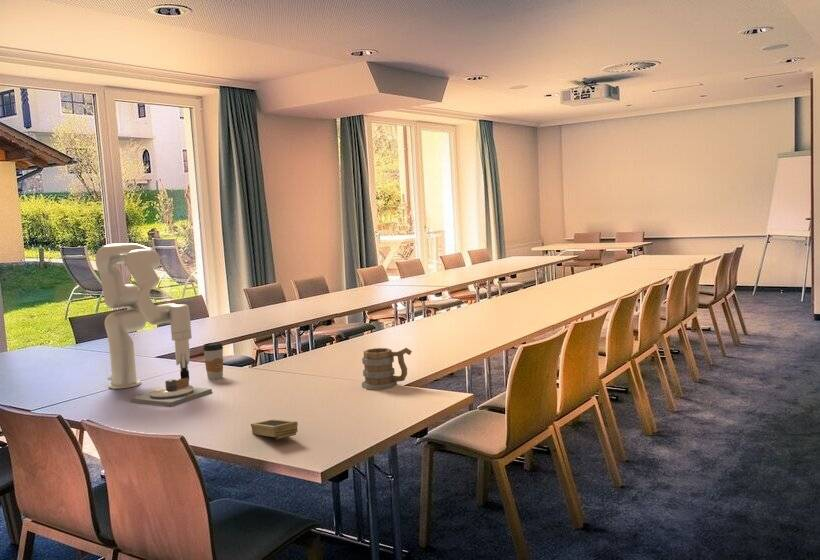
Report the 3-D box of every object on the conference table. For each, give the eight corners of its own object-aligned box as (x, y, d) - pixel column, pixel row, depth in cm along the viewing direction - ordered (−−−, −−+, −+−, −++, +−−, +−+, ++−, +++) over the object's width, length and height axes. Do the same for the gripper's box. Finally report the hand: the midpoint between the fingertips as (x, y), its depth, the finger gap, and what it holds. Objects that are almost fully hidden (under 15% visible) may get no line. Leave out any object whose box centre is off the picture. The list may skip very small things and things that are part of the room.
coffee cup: (210, 381, 292) (207, 346, 291) (202, 378, 299) (199, 344, 297) (228, 377, 298) (226, 343, 296) (220, 375, 304) (217, 341, 303)
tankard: (358, 389, 265) (355, 350, 263) (370, 381, 277) (368, 344, 275) (407, 391, 258) (405, 351, 257) (417, 383, 270) (416, 345, 269)
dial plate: (131, 402, 263) (130, 397, 263) (173, 389, 282) (172, 384, 282) (171, 406, 253) (170, 401, 253) (211, 392, 272) (211, 388, 272)
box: (275, 444, 199) (273, 426, 199) (246, 439, 217) (244, 423, 217) (301, 438, 203) (299, 421, 204) (271, 434, 222) (269, 418, 222)
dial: (170, 399, 257) (169, 387, 256) (140, 396, 264) (139, 384, 264) (203, 388, 271) (202, 377, 271) (173, 386, 279) (172, 374, 278)
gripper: (172, 333, 281) (175, 378, 283) (171, 339, 267) (175, 385, 269) (191, 332, 283) (194, 376, 285) (191, 337, 269) (195, 383, 271)
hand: (185, 380), depth 277 cm, fingers closed
